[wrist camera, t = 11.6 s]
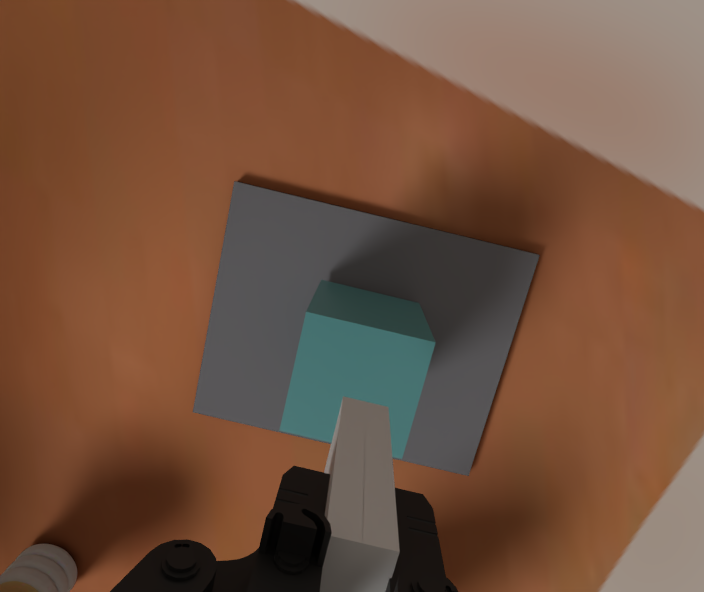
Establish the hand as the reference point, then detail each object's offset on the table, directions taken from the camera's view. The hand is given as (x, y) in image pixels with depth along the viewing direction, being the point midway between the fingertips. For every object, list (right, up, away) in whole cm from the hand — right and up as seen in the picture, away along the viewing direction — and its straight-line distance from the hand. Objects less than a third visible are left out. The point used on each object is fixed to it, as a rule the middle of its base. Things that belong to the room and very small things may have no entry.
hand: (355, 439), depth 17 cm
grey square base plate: (0, +3, +11) cm, 12 cm away
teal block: (0, +2, +10) cm, 11 cm away
